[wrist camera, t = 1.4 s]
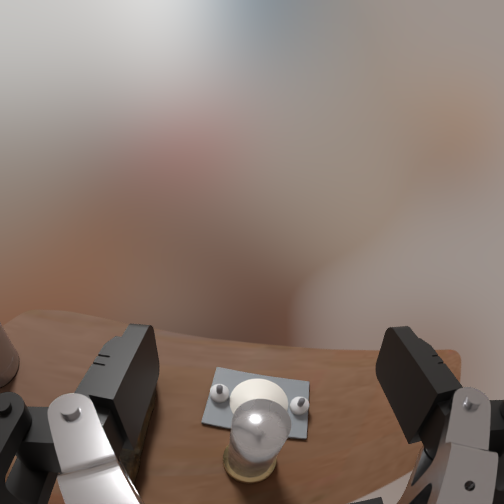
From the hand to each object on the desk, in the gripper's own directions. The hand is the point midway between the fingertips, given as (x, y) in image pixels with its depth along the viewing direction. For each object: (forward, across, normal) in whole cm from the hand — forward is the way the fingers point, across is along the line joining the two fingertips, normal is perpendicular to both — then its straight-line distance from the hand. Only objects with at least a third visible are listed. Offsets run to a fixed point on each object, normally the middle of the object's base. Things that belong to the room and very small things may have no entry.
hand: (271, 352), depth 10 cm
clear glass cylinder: (+11, 0, +26) cm, 28 cm away
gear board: (+20, -1, +24) cm, 31 cm away
